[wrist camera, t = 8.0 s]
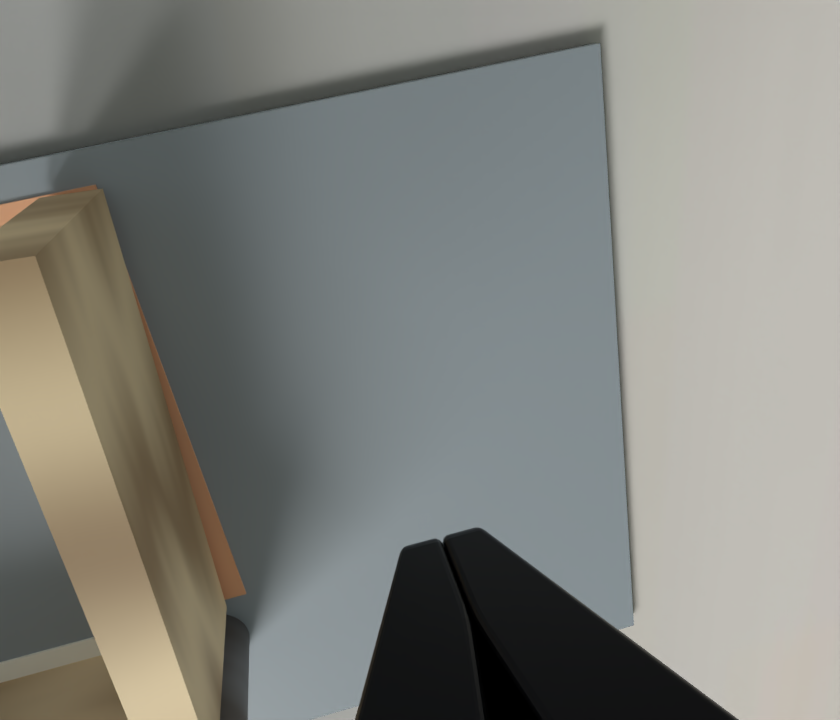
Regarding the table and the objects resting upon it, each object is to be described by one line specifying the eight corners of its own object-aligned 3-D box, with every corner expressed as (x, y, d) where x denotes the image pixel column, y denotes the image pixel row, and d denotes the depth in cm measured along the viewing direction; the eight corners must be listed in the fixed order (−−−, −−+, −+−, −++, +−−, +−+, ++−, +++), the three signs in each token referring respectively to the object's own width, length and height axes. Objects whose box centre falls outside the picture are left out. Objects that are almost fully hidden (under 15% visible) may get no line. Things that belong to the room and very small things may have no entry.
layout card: (-164, 849, 21) (-171, 862, 20) (-651, 297, 13) (-675, 304, 13) (629, 618, 23) (634, 626, 23) (594, 43, 16) (601, 43, 15)
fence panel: (226, 606, 19) (216, 773, 15) (180, 616, 19) (156, 788, 15) (102, 188, 14) (34, 255, 10) (39, 197, 14) (-57, 269, 10)
